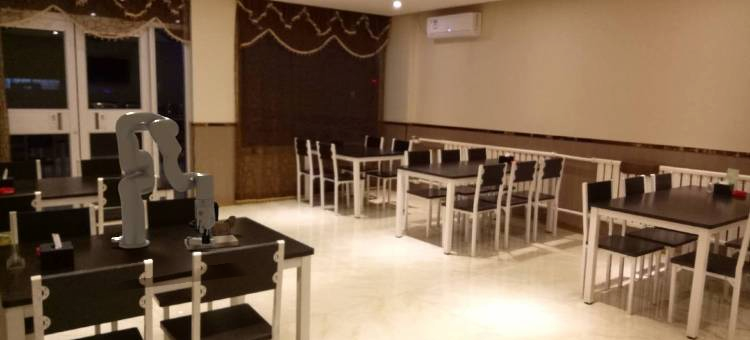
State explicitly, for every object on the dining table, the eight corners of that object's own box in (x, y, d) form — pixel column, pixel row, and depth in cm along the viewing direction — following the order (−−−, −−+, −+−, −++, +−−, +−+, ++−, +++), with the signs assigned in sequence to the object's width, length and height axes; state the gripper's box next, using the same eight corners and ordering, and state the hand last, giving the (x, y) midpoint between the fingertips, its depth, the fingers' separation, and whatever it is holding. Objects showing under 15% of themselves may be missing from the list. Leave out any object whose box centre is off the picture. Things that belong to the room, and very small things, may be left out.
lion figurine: (233, 231, 284) (233, 214, 283) (238, 233, 280) (238, 216, 279) (205, 235, 275) (205, 217, 274) (210, 238, 271) (210, 219, 270)
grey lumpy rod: (185, 244, 250) (185, 237, 250) (188, 242, 253) (188, 236, 253) (212, 246, 248) (212, 239, 248) (215, 244, 251) (215, 238, 250)
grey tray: (188, 250, 250) (187, 240, 249) (184, 243, 260) (184, 234, 260) (238, 245, 259) (238, 235, 258) (232, 239, 270) (232, 230, 269)
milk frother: (207, 231, 283) (206, 202, 281) (179, 229, 286) (178, 200, 285) (221, 225, 296) (221, 197, 294) (194, 223, 300) (194, 196, 298)
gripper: (206, 205, 237) (208, 248, 239) (219, 199, 252) (220, 239, 254) (189, 205, 238) (190, 247, 240) (203, 198, 252) (204, 239, 255)
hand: (206, 243), depth 247 cm, fingers closed
